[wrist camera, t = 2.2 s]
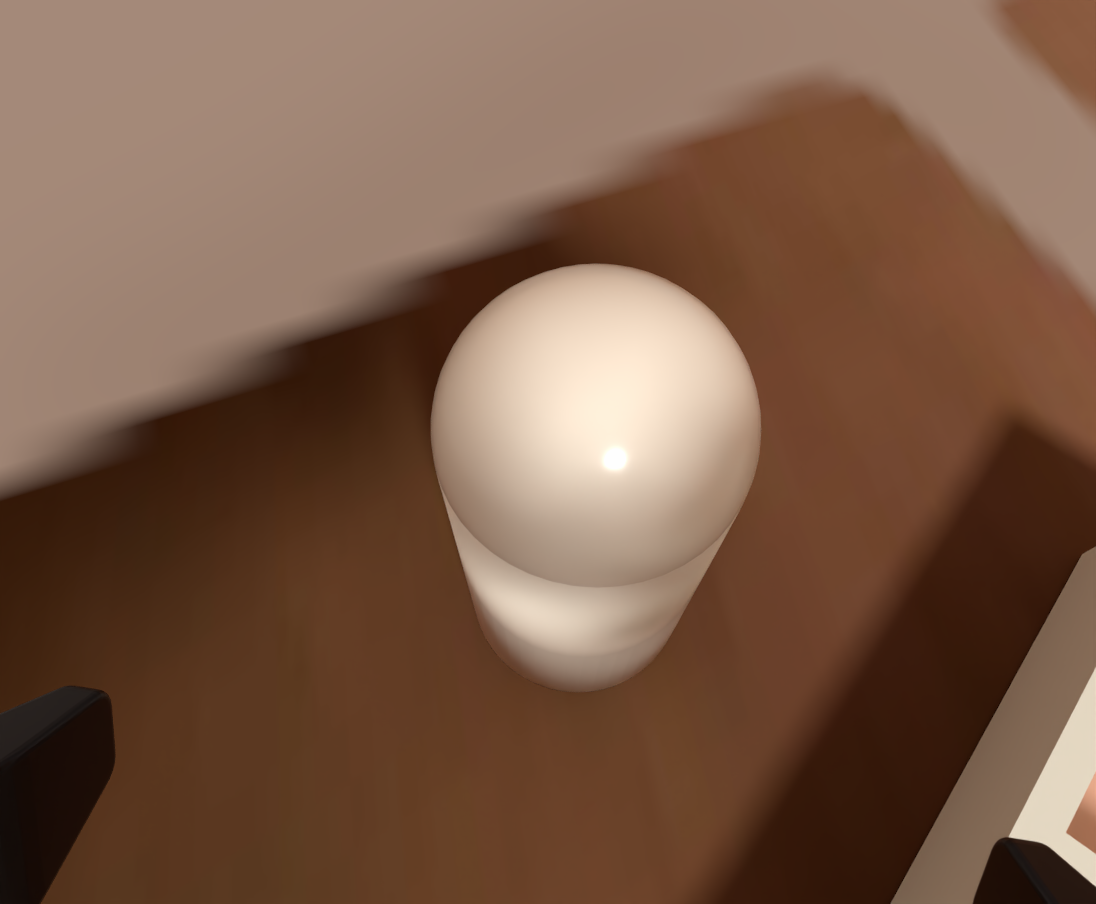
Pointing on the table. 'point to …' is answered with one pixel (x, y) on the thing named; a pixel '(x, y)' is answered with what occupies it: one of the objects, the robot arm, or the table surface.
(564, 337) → the cream capsule cylinder
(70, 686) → the robot arm
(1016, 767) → the compartment tray
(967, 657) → the table surface
